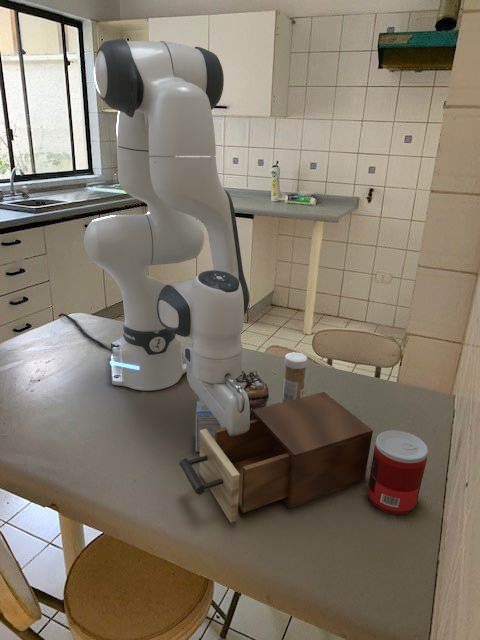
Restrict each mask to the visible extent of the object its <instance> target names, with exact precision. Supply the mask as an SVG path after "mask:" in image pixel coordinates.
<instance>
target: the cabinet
mask: <svg viewBox="0 0 480 640" xmlns="http://www.w3.org/2000/svg"><path fill="white" fill-rule="evenodd" d="M254 419H258V420H259V421H260V423H261V424H262V425H263V426H264V427H265V428H266V429H267V430H268V431H269V432H270V433H271V434H272V435H273V436H274V438H275V439H276V440H277V441H278V442H279V443H280V444H281V445H282V446H283V447H284V448H285V449H286V450H287V451H288V453H289V454H290V455H291V456H292V459H291V469H290V480H289V490H288V497H286V498H283V499H281V500H282V501H283V503H284V504H285V505H286V507H287V508H288V509H289V510H291V509H293V508H296V507H298V506H301V505H304V504H307V503H309V502H312V501H315V500H318V499H320V498H323V497H325V496H328V495H331V494H334V493H336V492H338V491H342V490H344V489H346V488H349V487H352V486H354V485H358V484H361V483H363V482H365V479H366V474H367V469H368V468H367V467H368V463H369V456H370V450H371V444H372V439H373V433H374V429H372V428H371V427H369V426H368V425H367V424H366V423H365V422H363V421H362V420H361V419H360V418H358V417H357V416H356V415H354V414H353V413H352V412H350V411H349V410H348V409H346V408H345V407H344V406H343V405H342V404H340V403H339V402H338V401H336V400H335V399H334V398H332V397H331V396H330V395H328V394H327V393H326V392H324V391H322V392H317V393H314V394H310V395H305V396H303V397H302V398H298V399H294V400H290V401H286V402H283V401H282V402H278V403H274V404H270V405H266V407H262V408H258V409H254V410H252V420H254Z"/></svg>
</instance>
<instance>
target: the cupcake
mask: <svg viewBox="0 0 480 640" xmlns="http://www.w3.org/2000/svg"><path fill="white" fill-rule="evenodd" d="M235 380H236V382H237V383H239V384H240V385H241V386H242V388H243V389H244V391H245V392H246V393H247V396H248V399H249V408H250V420H252V410H254V409H258V408H262V407H266V406H267V403H268V401H269V398H270V394H269V387H268V385H267V383H266V382H265V381H264V380H263V379H261V375H260V373H259V370H254V371H251V372H249V374H247V373H246V372H245V371H243V370H241V375H240V376H239V377H238V378H237V379H235Z"/></svg>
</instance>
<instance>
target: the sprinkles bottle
mask: <svg viewBox="0 0 480 640" xmlns="http://www.w3.org/2000/svg"><path fill="white" fill-rule="evenodd" d="M284 366H285V367H284V376H283V387H282V402H286V401H290V400H294V399H298V398H302V397H304V393H305V392H304V389H305V377H306V368H307V366H308V357H307V355H306V354H304V353H301V352H296V351H292V352H289V353H286V354H285V356H284Z"/></svg>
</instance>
